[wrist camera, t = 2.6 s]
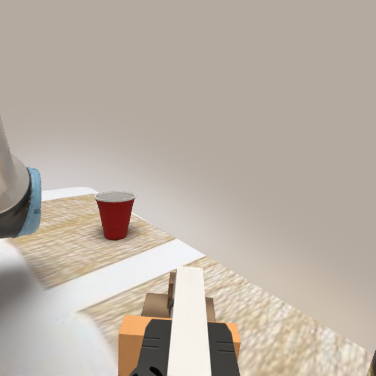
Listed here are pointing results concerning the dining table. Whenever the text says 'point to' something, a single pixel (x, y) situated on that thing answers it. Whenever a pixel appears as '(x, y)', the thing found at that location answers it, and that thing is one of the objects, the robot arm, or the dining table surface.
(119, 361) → the upright orange slab
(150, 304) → the pipe stand
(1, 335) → the dining table surface
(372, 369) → the coffee can
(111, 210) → the plastic cup
